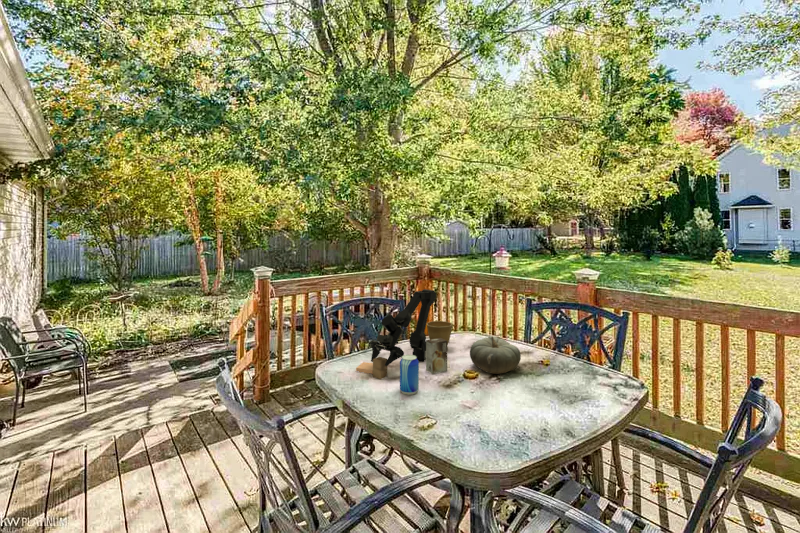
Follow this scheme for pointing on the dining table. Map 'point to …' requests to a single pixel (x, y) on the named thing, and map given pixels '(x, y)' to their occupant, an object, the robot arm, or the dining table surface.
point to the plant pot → (439, 330)
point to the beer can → (409, 374)
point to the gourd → (495, 355)
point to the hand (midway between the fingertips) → (378, 363)
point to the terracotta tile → (365, 367)
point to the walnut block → (379, 368)
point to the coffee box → (436, 355)
